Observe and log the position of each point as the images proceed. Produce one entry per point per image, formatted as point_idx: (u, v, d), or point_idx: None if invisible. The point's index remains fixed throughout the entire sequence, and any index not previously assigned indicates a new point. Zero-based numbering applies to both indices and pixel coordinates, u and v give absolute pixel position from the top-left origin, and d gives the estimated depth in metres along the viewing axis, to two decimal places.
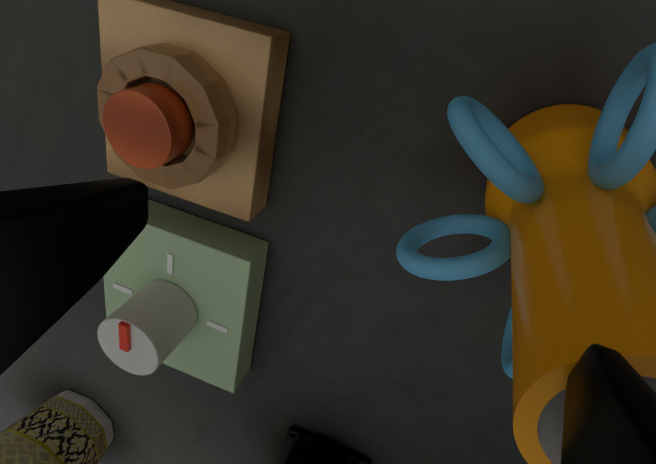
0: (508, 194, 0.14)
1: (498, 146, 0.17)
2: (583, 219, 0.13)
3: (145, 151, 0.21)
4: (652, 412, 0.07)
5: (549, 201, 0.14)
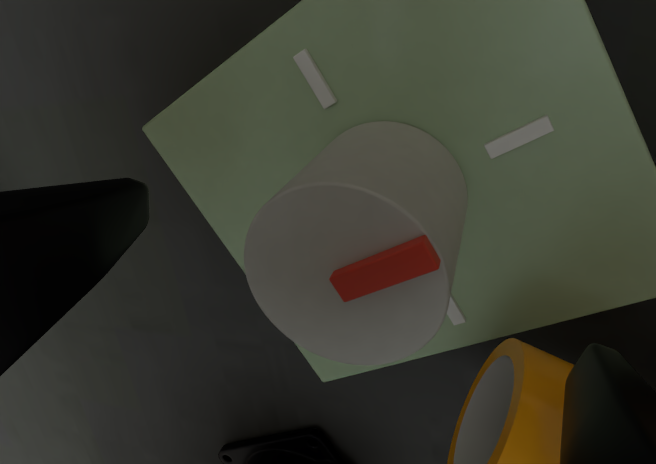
0: None
1: None
2: None
3: None
4: (651, 411, 0.07)
5: None
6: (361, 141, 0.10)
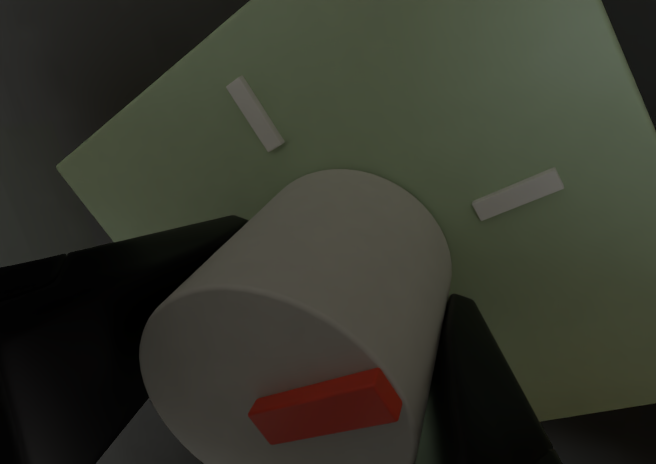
0: None
1: None
2: None
3: None
4: (475, 346, 0.07)
5: None
6: (306, 204, 0.07)
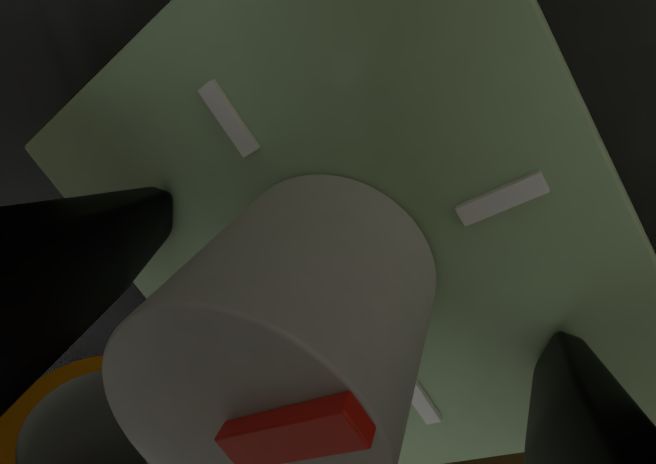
0: None
1: None
2: None
3: None
4: (607, 395, 0.07)
5: None
6: (280, 212, 0.07)
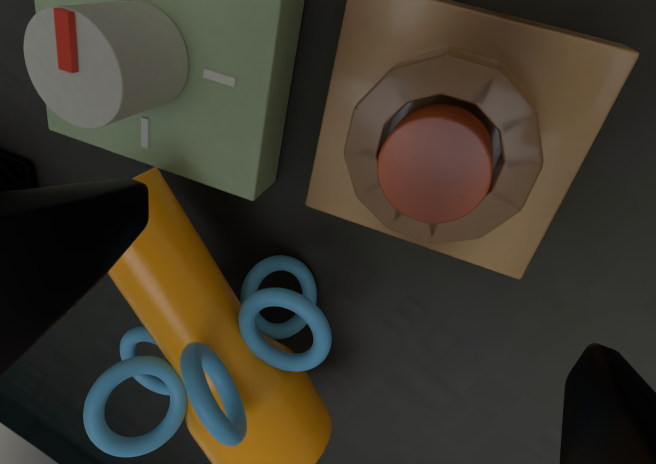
0: None
1: None
2: (195, 299, 0.20)
3: (403, 178, 0.15)
4: (651, 412, 0.07)
5: (229, 321, 0.21)
6: None
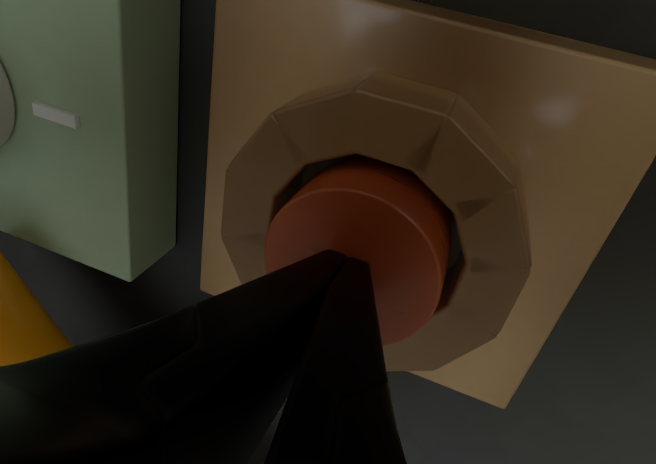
0: None
1: None
2: None
3: None
4: (349, 299, 0.07)
5: None
6: None
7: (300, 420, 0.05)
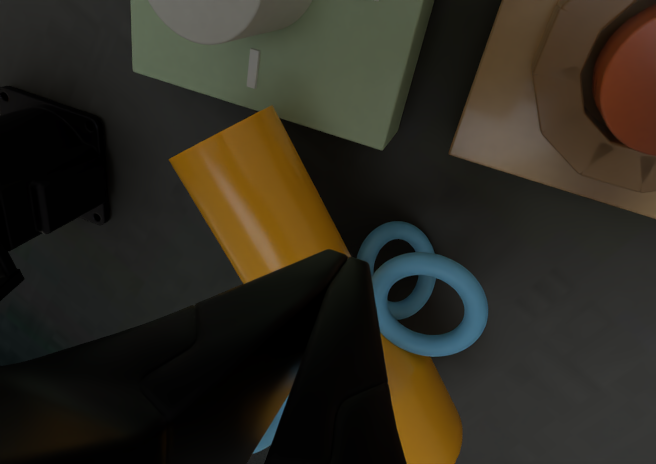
0: None
1: (432, 335, 0.17)
2: None
3: (640, 95, 0.12)
4: (349, 299, 0.07)
5: None
6: None
7: (300, 420, 0.05)
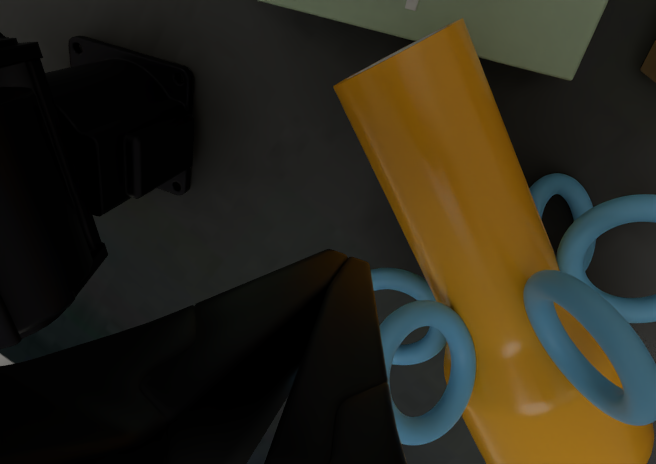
0: None
1: None
2: (521, 212, 0.13)
3: None
4: (349, 299, 0.07)
5: (550, 249, 0.14)
6: None
7: (300, 420, 0.05)
